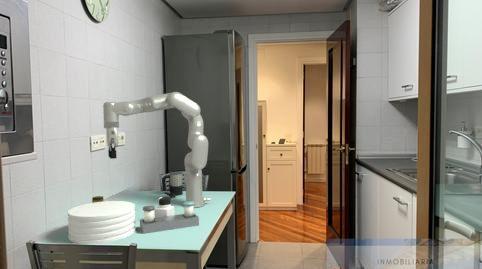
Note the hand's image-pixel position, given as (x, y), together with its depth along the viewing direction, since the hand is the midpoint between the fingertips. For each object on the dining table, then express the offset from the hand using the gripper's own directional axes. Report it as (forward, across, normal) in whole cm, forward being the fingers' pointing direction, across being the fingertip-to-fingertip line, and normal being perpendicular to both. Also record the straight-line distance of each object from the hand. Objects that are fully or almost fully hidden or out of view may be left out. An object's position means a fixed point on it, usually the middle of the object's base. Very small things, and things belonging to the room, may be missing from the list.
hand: (112, 157), depth 184 cm
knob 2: (+28, -34, -32) cm, 54 cm away
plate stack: (+32, -28, +7) cm, 43 cm away
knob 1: (+28, -34, -13) cm, 45 cm away
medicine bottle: (+31, -24, -22) cm, 45 cm away
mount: (+31, -34, -22) cm, 51 cm away
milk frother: (+31, +34, -41) cm, 61 cm away
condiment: (+31, -6, +7) cm, 33 cm away
